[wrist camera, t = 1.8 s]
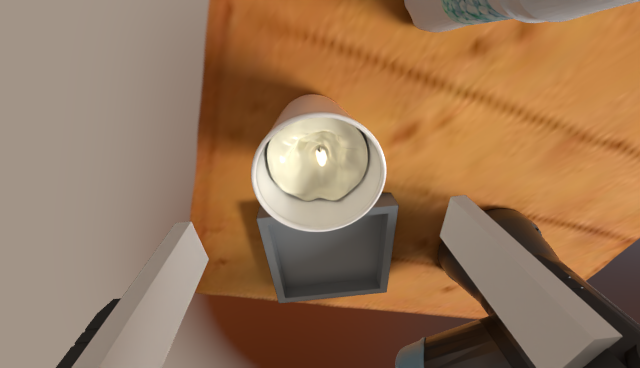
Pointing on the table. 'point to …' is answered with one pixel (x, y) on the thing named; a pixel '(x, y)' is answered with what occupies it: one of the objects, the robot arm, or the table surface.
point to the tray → (331, 255)
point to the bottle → (499, 11)
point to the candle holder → (318, 167)
